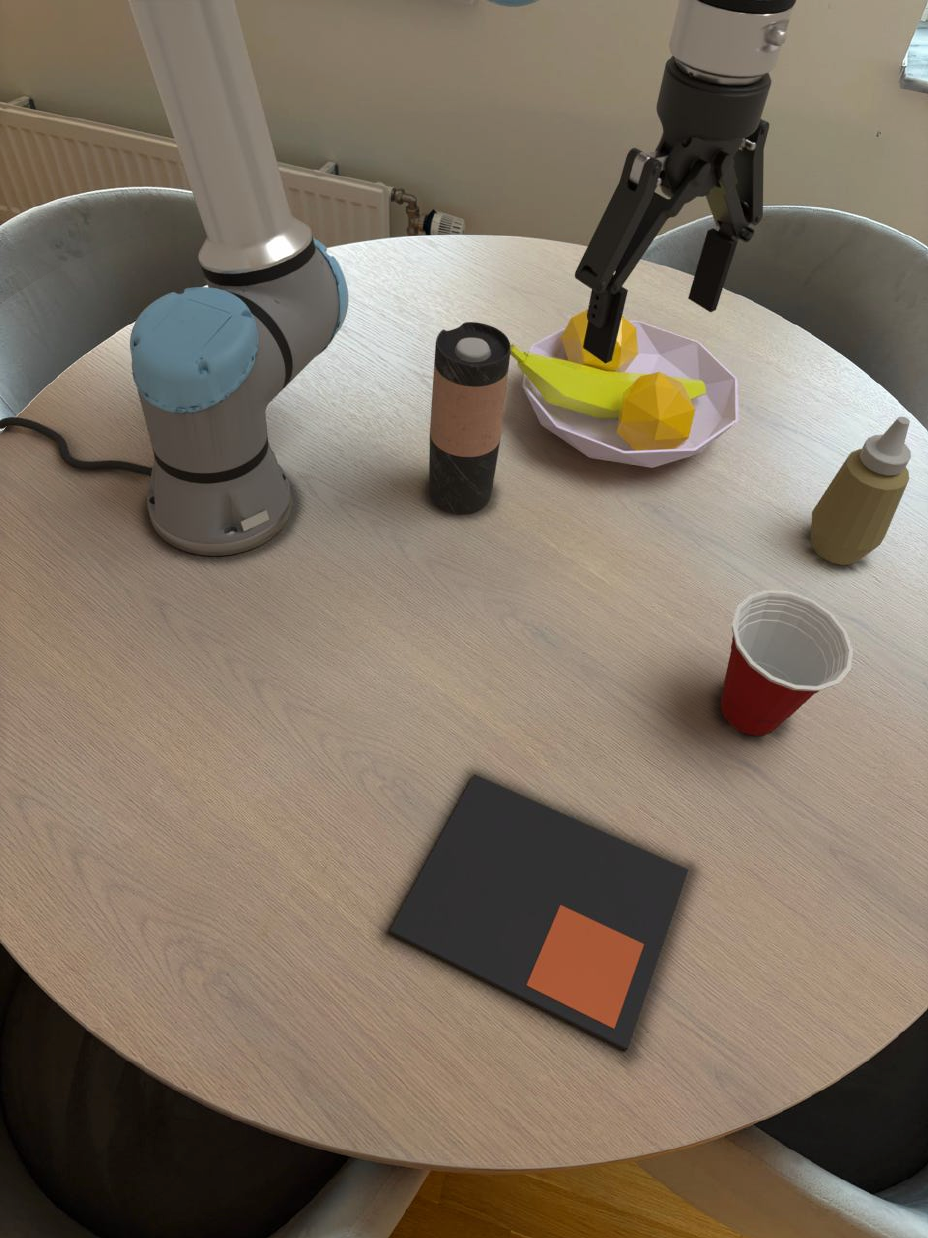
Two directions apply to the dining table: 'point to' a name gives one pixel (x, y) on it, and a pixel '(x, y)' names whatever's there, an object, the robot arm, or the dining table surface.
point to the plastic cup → (780, 659)
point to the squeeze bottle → (862, 498)
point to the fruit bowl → (630, 393)
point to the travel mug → (467, 415)
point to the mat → (544, 909)
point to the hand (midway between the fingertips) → (651, 328)
